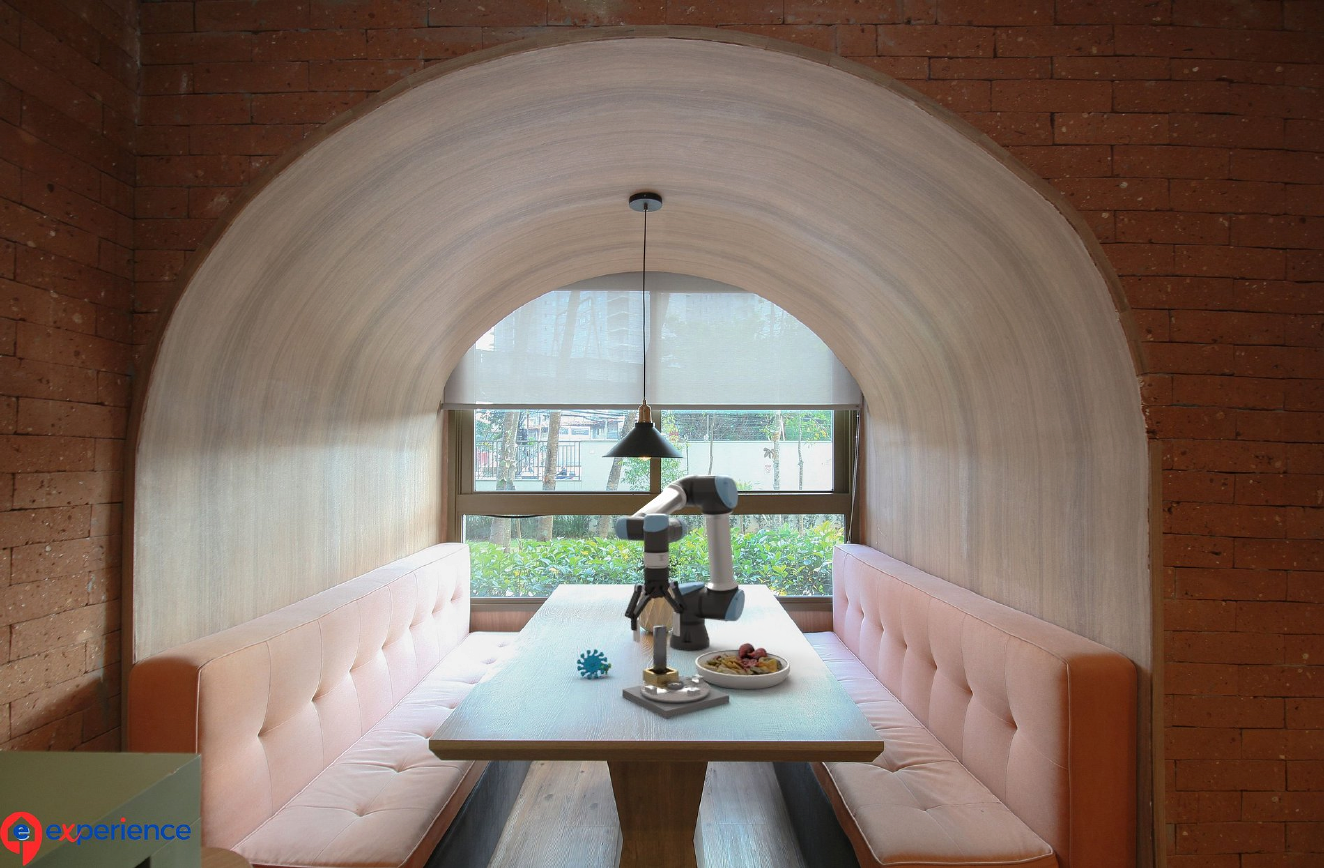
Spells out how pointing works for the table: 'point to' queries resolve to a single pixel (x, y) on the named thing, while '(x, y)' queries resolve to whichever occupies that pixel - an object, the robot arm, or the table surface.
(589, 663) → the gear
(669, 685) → the silver disc with box
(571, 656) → the table surface
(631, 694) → the nut plate
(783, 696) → the table surface
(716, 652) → the bowl
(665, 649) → the pin
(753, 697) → the table surface
